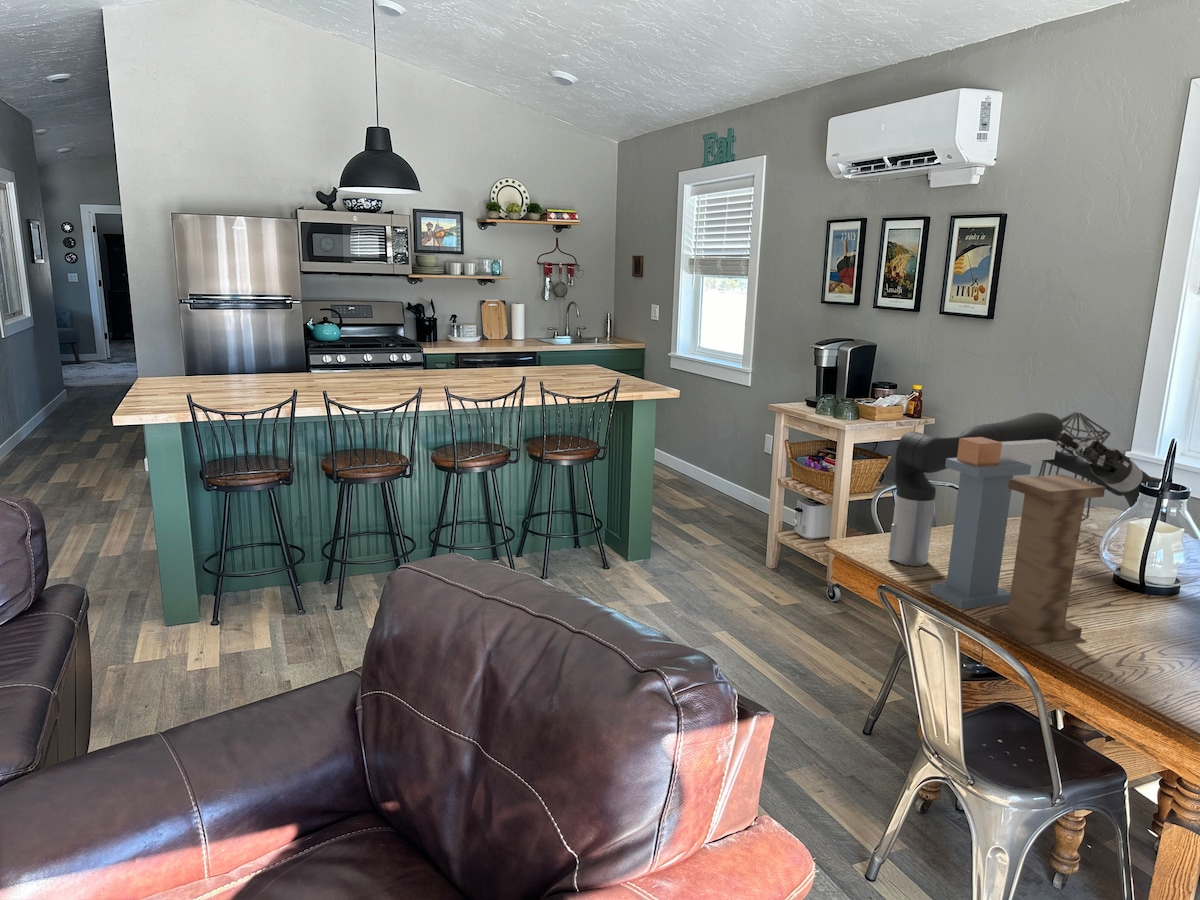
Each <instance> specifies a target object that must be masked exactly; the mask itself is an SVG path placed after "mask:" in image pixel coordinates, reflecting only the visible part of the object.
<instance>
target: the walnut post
mask: <svg viewBox="0 0 1200 900" xmlns="http://www.w3.org/2000/svg"><path fill="white" fill-rule="evenodd" d="M1090 482H1091V481H1089V482H1087V480H1086V481H1085V480H1084V481H1083V480H1082V479H1080V478H1074V477H1073V476H1070V475H1069V476H1068V475H1067V474H1066V475H1065V474H1058V475H1056V474H1050V476H1048V475H1044V476H1042V475H1041V476H1039V475H1038V476H1027V477H1026V476H1025V477H1015V478H1014V477H1013V478H1011V479H1009V484H1008V488H1009V489H1012V490H1011V491H1015V492H1019V493H1021V494H1023V495H1024V497H1023V504H1022V510H1021V511H1022V512H1021V516H1020V517H1021V518H1020V523H1019V525H1020V526H1019V531H1018V532H1019V533H1018V539H1017V545H1016V552H1015V561H1014V566H1013V574H1012V580H1011V581H1012V582H1011V588H1010V593H1011V594H1010V601H1009V603H1008V608H1007V613H1003V614H1002V613H1001V614H995V615H990V616H989V622H988V623H989V624H988V625H989V626H991V627H993V628H994V629H996V630H998V631H1000V632H1001V633H1003V634H1004V635H1007V636H1009V637H1010V638H1012V639H1014V640H1015V641H1018V642H1019V643H1020V644H1024V645H1025V646H1033V645H1040V644H1046V643H1051V642H1058V641H1065V640H1070V639H1071V640H1073V639H1077V638H1078V639H1079V638H1081V636H1082V630H1083V627H1081V626H1079V625H1077V624H1074V623H1072V622H1070V621H1068V620H1066V619H1067V612H1068V606H1069V601H1070V596H1071V595H1070V594H1071V587H1072V582H1073V578H1074V577H1073V575H1074V570H1075V563H1076V557H1077V550H1078V545H1079V538H1080V532H1081V525H1082V521H1081V520H1082V519H1083V515H1082V514H1084V510H1083V508H1084V509H1085V505H1084V502H1085V503H1086V500H1085V498H1086V499H1089V498H1091V499H1092V498H1093V499H1094V498H1104V497H1105V491H1106V489H1105V487H1104V486H1100V485H1097V484H1095V483H1094V482H1093V483H1090Z"/></svg>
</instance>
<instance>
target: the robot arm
mask: <svg viewBox="0 0 1200 900" xmlns="http://www.w3.org/2000/svg"><path fill="white" fill-rule="evenodd" d="M1060 419H1061V418H1059V417H1058V416H1056V415H1054V414H1051V413H1046V412H1034V413H1033V412H1032V413H1028V414H1025V415H1022V416H1018V417H1015V418H1013V419H1008V420H1003V421H998V422H992V423H991V422H990V423H984V424H978V425H973V426H969V427H968V428H965V429H964V430H963V431H961V433H960V434H959V436H953V437H939V436H934V435H931V434H926V433H922V432H918V431H908V432H906V433H904V434H903V435H902V436H901V438H900V439H899V441H898V443H897V445H896V451H895V459H894V460H895V461H894V485H895V488H896V492H895V493H896V494H895V499H894V501H895V502H894V510H893V511H894V512H893V518H892V520H893V521H892V523H891V529H890V536H889V547H888V557H887V560H888V559H890V560H894V561H896V562H898V563H897V564H899V563H900V564H899V565H903V564H904V565H905V566H908V565H910V567H921V566H922V567H923V566H925V565H927V564H928V560H929V555H930V554H929V553H930V552H929V551H930V545H931V543H930V542H931V536H932V526H933V519H934V510H935V502H936V500H935V499H936V493H937V491H936V487H935V485H933V484H932V482H930V480H928V478H927V477H926V475H925V473H926V474H934V473H937V472H940V471H944V470H946V469H948V468H946V467H945V464H946V458H957V454H958V446H959V438H971V437H984V438H987V439H991V440H995V441H998V442H1007V441H1024V440H1041V439H1047V440H1051V441H1055V442H1057V441H1058V442H1059V443H1060V444H1061V445H1059V447H1060V448H1061V449H1062V450H1063V449H1064V451H1065V453H1069V454H1071V455H1068V454H1063V453H1060V452H1061V451H1059V450H1056V451H1055V458H1054V459H1051V460H1041V462H1042V461H1045V462H1047V463H1046V464H1049V465H1051V464H1052V465H1053V466H1054V467H1056V468H1057V467H1059V469H1063V470H1065V471H1067V472H1070V473H1073V474H1074V475H1075V474H1077V476H1081V478H1082V477H1084V479H1086V480H1087V479H1088V480H1089V482H1091V481H1092V482H1093V484H1097V485H1100V486H1104V487H1105V491H1108V492H1110V493H1111V494H1113V495H1116V496H1118V497H1124V498H1125V500H1126V502H1127V504H1128V506H1129V507H1130V508H1131V507H1132V506H1133V505H1134V504H1135V502H1136V501H1137V498H1138V496H1139V484H1141V483H1145V482H1153V481H1154V482H1158V483H1160V482H1161V480H1162V478H1158V477H1153V476H1150V475H1149V474H1147V473H1146V472H1145V471H1143V470H1142V469H1141V468H1140V467H1139V465H1137V464H1136V463H1135V462H1134V461H1133V460H1131V459H1130V458H1129V457H1128V456H1126V455H1125V454H1124V453H1122V452H1121V451H1120V450H1119V449H1116V448H1112V447H1111V448H1110V447H1109V446H1106V445H1104V443H1103V444H1102V443H1101V442H1100V441H1098V440H1091V443H1090V444H1089V443H1088V442H1087V443H1086V442H1078V441H1079V440H1077V439H1075V440H1074V439H1073V438H1071V437H1070V436H1069V433H1067V432H1063V431H1062V429H1063V425H1064V423H1063V424H1062V422H1061V420H1060ZM1083 447H1085V448H1084V449H1083ZM890 560H889V561H890ZM894 561H893V562H894ZM896 562H895V563H896Z"/></svg>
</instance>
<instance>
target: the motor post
mask: <svg viewBox="0 0 1200 900" xmlns="http://www.w3.org/2000/svg"><path fill="white" fill-rule="evenodd" d="M945 467H946V468H947V469H950V470H952V471H956V472H958V473H959V482H958V489H957V496H956V503H955V504H956V505H955V513H954V521H953V529H952V537H951V545H950V554H949V562H948V569H947V576H946V577H947V578H946V582H945V581H944V582H939V583H931V584H930V592H929V593H931V594H932V595H934V596H936V597H938V598H940V599H941V600H943V601H945V602H947V603H949V604H951V605H952V606H954V607H956V608H958V609H959V610H967V609H969V610H970V609H975V608H983V607H989V606H997V605H1004V604H1009V601H1010V594H1011V592H1009V591H1006V590H1005V589H1003V588H1001V587H999V582H1000V576H1001V575H1000V574H1001V567H1002V561H1003V555H1004V547H1005V545H1004V544H1005V540H1006V539H1005V538H1006V531H1007V526H1008V517H1009V510H1010V504H1011V497H1012V491H1013V490H1012V489H1009V488H1008V484H1009V479H1011V478H1014V476H1024V475H1031V471H1032V465H1031V464H1028V463H1024V462H1008V463H999V465H993V466H978V467H977V466H973V465H970V464H967V463H964V462H961V461H958V460H957V458H946V464H945Z"/></svg>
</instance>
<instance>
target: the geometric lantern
mask: <svg viewBox="0 0 1200 900" xmlns="http://www.w3.org/2000/svg"><path fill="white" fill-rule="evenodd" d="M1059 419H1060V420H1061V422H1062V424H1063V429H1062V432H1063V431H1065V433H1067V434H1068V435H1069V436H1070V437H1071V438H1073V439H1074V440H1076V441H1078V442H1085V443H1087V444H1088V442H1091V441H1093V440H1098V441H1099V442H1100V441H1101V442H1100V443H1102V444H1103V445H1104V443H1105V442H1106V440H1107V439H1108V438H1109V437H1110V435H1111V432H1110V431H1108V429H1105V428H1104V427H1102V426H1101V425H1100V424H1098V423H1097V422H1095V421H1093V420H1091V418H1089V417H1087V416H1086V415H1084V414H1083V413H1082V412H1079V411H1072V412H1071V413H1069V414H1068V415H1066V416H1064V417H1062V418H1059ZM1072 420H1073V421H1072ZM1071 421H1072V423H1071V426H1068V425H1069V424H1070V422H1071ZM1076 421H1077V422H1076ZM1080 421H1081V423H1082V425H1083V427H1084V428H1085V429H1080ZM1064 423H1065V424H1064ZM1075 423H1076V427H1074V426H1075ZM1093 425H1094V426H1095V427H1097V428H1099V429H1100V430H1097V429H1096V428H1095V427H1094V426H1093ZM1068 429H1069V430H1068ZM1073 431H1076V432H1077V433H1076V436H1075V434H1073V433H1072V432H1073ZM1080 432H1083V433H1087V435H1086V436H1079V434H1080ZM1091 433H1092V434H1093V436H1092V434H1091ZM1103 435H1104V436H1103ZM1061 444H1062V443H1061V442H1060V441H1057V444H1056V448H1057V446H1061ZM1064 451H1065V450H1064V449H1062V450H1061V451H1059V452H1060V453H1063V454H1066V455H1071V454H1069V453H1068V452H1064ZM1047 464H1048V463H1047V462H1045V461H1042V460H1041V466H1040V468H1039V469H1040V470H1039V472H1038V476H1045V471H1046V468H1047ZM1053 466H1054V465H1052V464H1050V466H1049V470H1048V474H1047V476H1050V475H1052V474H1051V473H1052V469H1053ZM1059 471H1060V468H1059V467H1057V466H1056V472H1055V475H1059ZM1077 476H1078V475H1077V474H1075V473H1074V477H1073V478H1076V479H1078V478H1077ZM1081 480H1083V481H1085V478H1084V477H1082V476H1081ZM1086 482H1090V483H1093V484H1094V482H1092V481H1090V480H1088V479H1086ZM1086 499H1087V498H1085V502H1084V506H1085V504H1086ZM1091 500H1092V498H1088V501H1087V509H1086V514H1084V513H1083V514H1082V520H1081V522H1083V521H1085V520H1087V519H1089V518H1090V517H1089V515H1090V509H1091V502H1092V501H1091ZM1084 509H1085V507H1084V508H1083V511H1084Z"/></svg>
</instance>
